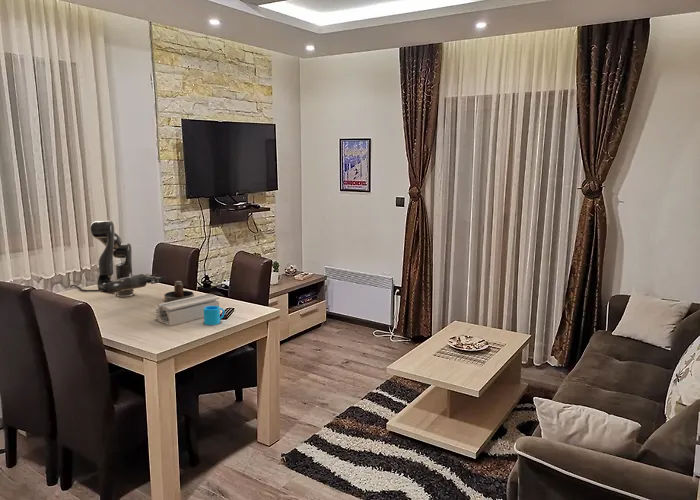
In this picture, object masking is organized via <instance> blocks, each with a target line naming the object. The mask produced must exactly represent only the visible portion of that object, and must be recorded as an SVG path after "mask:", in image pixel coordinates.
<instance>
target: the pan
mask: <svg viewBox="0 0 700 500" xmlns="http://www.w3.org/2000/svg"><path fill="white" fill-rule="evenodd" d="M183 296H184V297H179V298H175V294H174V290H173V291H169V292H166V293H164V294H163V301H164V303H166V302H171V301H176V300H180V299H185V298H189V297H194V296H195V293H194V291H191V290H183Z"/></svg>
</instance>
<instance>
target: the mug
mask: <svg viewBox="0 0 700 500" xmlns="http://www.w3.org/2000/svg"><path fill="white" fill-rule="evenodd" d="M221 311H222V314H221ZM225 313H226V312H225V309H224V308H222V307H220V305H219V306H207V307H204V317H203V324H204V325H206V326H215V325H219V324H220V323H221V320H222V319H223V318H224V316H225Z"/></svg>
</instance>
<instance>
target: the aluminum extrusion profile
mask: <svg viewBox="0 0 700 500" xmlns="http://www.w3.org/2000/svg"><path fill="white" fill-rule="evenodd" d="M219 299H220V297H219V296H216V295H215V294H212V293H203V294H199V295H194V297H189V298H185V299H180V300H176V301H171V302H161V303H158V304H157V307H155V308H154V310H155V313H156V315H155V320H156V321H158V322H160V323H162V324H165V325H166V326H169V327H170V326H174V325H178V324H182V323H186V322H190V321H195V320H198V319H201V318H204V307H207V306H219V307H220V301H219Z"/></svg>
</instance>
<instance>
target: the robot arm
mask: <svg viewBox="0 0 700 500" xmlns="http://www.w3.org/2000/svg"><path fill="white" fill-rule="evenodd" d="M115 229H116V228H115V225H114V222H113V221H112V220H96V221H93V222H92V223H91V224H90V228H89V230H90V233H91V236H92V237H93V238H94V239H96V240H98V241H100V243H102V244H103V246H104V247H105V248H104V249H103V251H102V252H101V254H100V256H99V259H98V277H97V289H82V287H81V286H78V285H76V284H70V286H69V288H72V287H75V288H76V289H79V290H80V291H82V292H99V293H101V294H107V295H110V294H115V296H117V297H118V298H127V297H132V296H134V291H135V289H140V288H145V287H146V286H147V284H152V285H153V284H161V283H162V282H163V281H166V280H167V277H166V275H164V276H159V274H158V273H154V274H149V273H147V274H143V273H140V274H139V273H138V274H135V275H133V259H132V258H133V257H132V254H133V253H132V252H133V251H132V245H131V243H129V242H122V239H121V237H120V236H119V234H118V233H116V232H115ZM114 258H115V259H124V261H122V262H119V263H117V264H115V276H116V277H115V278H116V279H113V280H111V277H112V276H113V275H114Z"/></svg>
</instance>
